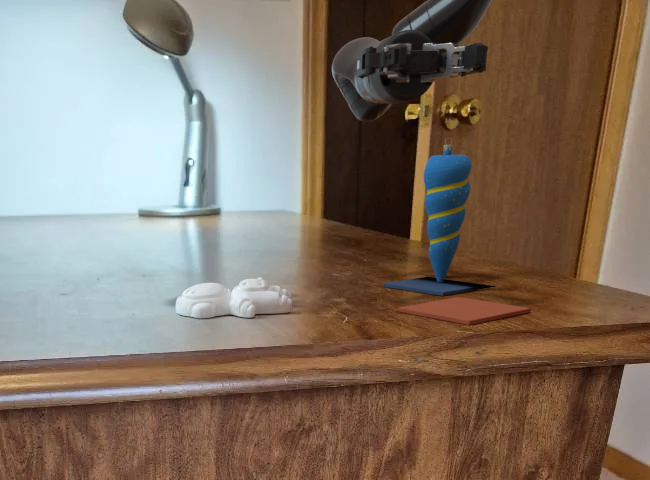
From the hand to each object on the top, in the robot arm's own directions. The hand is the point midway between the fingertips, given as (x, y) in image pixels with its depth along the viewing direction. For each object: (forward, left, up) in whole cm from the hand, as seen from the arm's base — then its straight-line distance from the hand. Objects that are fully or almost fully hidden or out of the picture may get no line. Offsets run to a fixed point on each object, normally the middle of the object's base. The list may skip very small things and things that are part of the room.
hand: (441, 54), depth 85 cm
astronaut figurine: (+28, 0, -24) cm, 37 cm away
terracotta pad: (+12, +16, -23) cm, 31 cm away
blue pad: (+2, +4, -23) cm, 24 cm away
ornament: (+2, +4, -23) cm, 24 cm away
